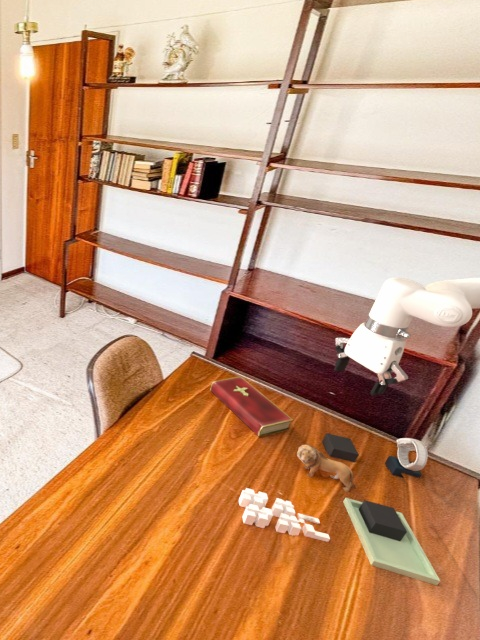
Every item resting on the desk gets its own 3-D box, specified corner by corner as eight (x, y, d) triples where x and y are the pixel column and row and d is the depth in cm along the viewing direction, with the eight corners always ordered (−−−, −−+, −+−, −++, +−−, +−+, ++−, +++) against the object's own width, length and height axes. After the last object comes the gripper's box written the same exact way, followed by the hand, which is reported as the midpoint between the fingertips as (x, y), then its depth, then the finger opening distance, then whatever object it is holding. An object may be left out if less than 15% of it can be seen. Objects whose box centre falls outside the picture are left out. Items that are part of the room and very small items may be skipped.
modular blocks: (243, 523, 92) (248, 512, 91) (237, 497, 98) (241, 486, 97) (339, 548, 88) (346, 537, 86) (326, 519, 94) (332, 508, 92)
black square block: (387, 517, 95) (394, 507, 93) (400, 541, 89) (407, 531, 88) (358, 509, 96) (364, 499, 95) (369, 532, 91) (375, 522, 90)
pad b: (345, 447, 115) (350, 438, 113) (354, 463, 109) (359, 454, 108) (321, 441, 116) (326, 432, 115) (329, 457, 111) (333, 448, 109)
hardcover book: (258, 437, 117) (262, 426, 115) (209, 390, 135) (212, 380, 133) (289, 429, 120) (293, 419, 118) (237, 385, 138) (241, 375, 136)
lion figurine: (291, 476, 105) (303, 452, 101) (287, 461, 109) (298, 437, 105) (357, 496, 100) (372, 471, 96) (350, 479, 105) (364, 455, 101)
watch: (405, 464, 110) (424, 435, 105) (419, 488, 103) (440, 458, 98) (381, 458, 112) (398, 429, 107) (393, 481, 105) (412, 451, 100)
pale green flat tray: (398, 518, 95) (401, 512, 94) (436, 586, 82) (440, 581, 81) (342, 502, 98) (345, 497, 97) (370, 566, 85) (373, 560, 84)
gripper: (436, 344, 91) (402, 402, 98) (360, 308, 106) (336, 360, 113) (413, 348, 89) (380, 406, 96) (339, 311, 104) (315, 363, 111)
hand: (356, 381), depth 104 cm, fingers open, 9 cm apart
